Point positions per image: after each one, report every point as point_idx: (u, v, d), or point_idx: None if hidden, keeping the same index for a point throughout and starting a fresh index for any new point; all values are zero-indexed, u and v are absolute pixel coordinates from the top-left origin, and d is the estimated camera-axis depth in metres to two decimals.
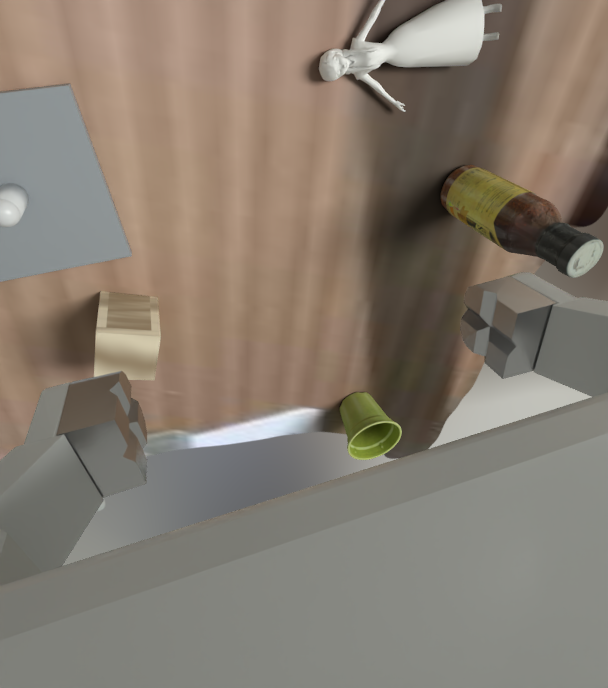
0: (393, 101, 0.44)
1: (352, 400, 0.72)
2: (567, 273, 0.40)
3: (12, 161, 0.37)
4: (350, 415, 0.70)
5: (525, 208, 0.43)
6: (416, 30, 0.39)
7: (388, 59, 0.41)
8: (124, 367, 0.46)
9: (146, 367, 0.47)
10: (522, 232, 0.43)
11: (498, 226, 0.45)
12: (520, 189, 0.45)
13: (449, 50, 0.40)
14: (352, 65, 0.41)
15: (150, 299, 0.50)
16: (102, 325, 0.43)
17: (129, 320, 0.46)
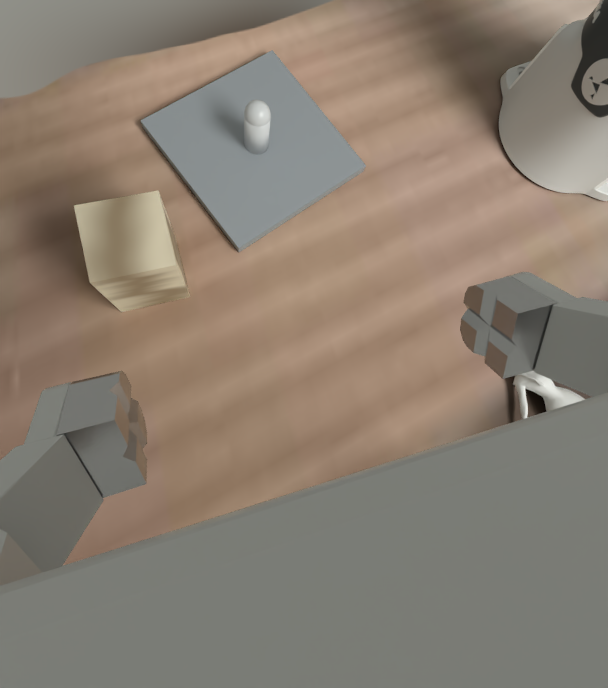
0: None
1: None
2: None
3: (286, 139, 0.43)
4: None
5: None
6: None
7: (551, 396, 0.40)
8: (105, 237, 0.31)
9: (113, 264, 0.31)
10: None
11: None
12: None
13: None
14: None
15: (187, 286, 0.39)
16: (163, 205, 0.34)
17: (173, 242, 0.35)
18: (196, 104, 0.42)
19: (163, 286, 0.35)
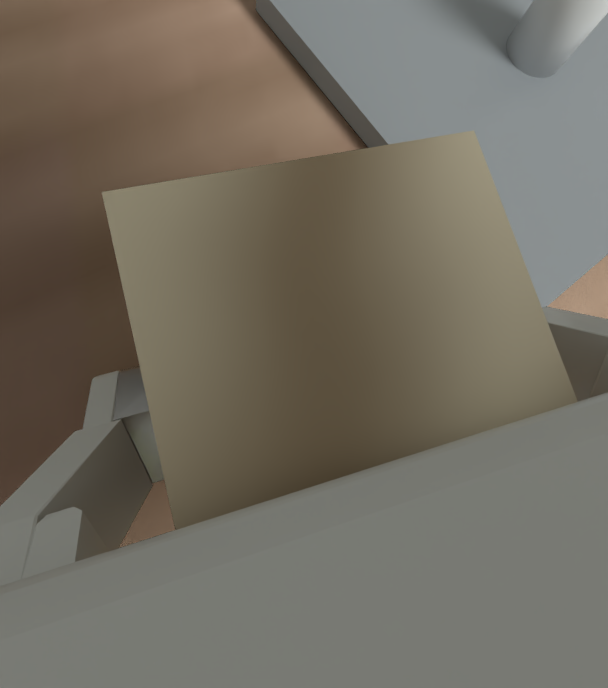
0: None
1: None
2: None
3: (598, 45, 0.18)
4: None
5: None
6: None
7: None
8: (266, 356, 0.06)
9: None
10: None
11: None
12: None
13: None
14: None
15: None
16: None
17: None
18: None
19: None
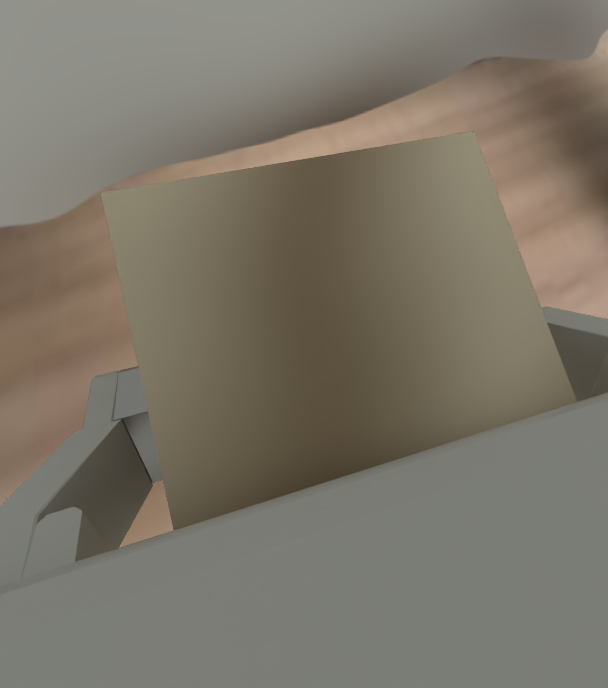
0: None
1: None
2: None
3: None
4: None
5: None
6: None
7: None
8: (265, 358, 0.06)
9: None
10: None
11: None
12: None
13: None
14: None
15: None
16: None
17: None
18: None
19: None
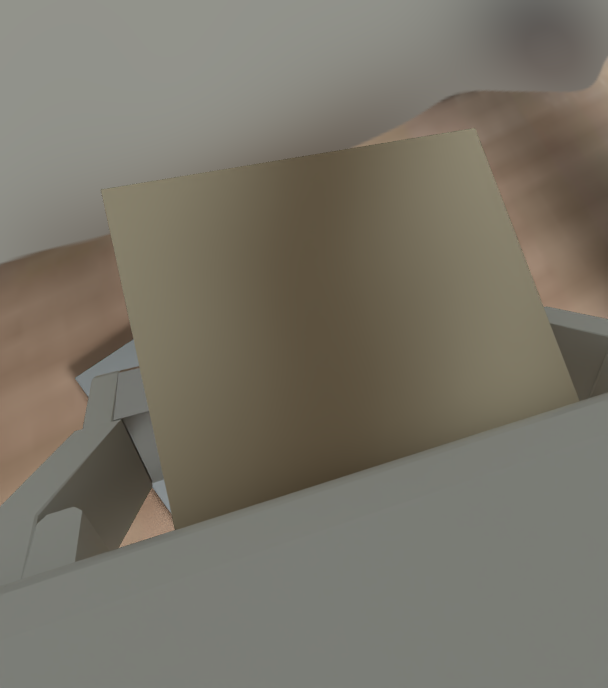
0: None
1: None
2: None
3: None
4: None
5: None
6: None
7: None
8: (266, 354, 0.06)
9: None
10: None
11: None
12: None
13: None
14: None
15: None
16: None
17: None
18: None
19: None
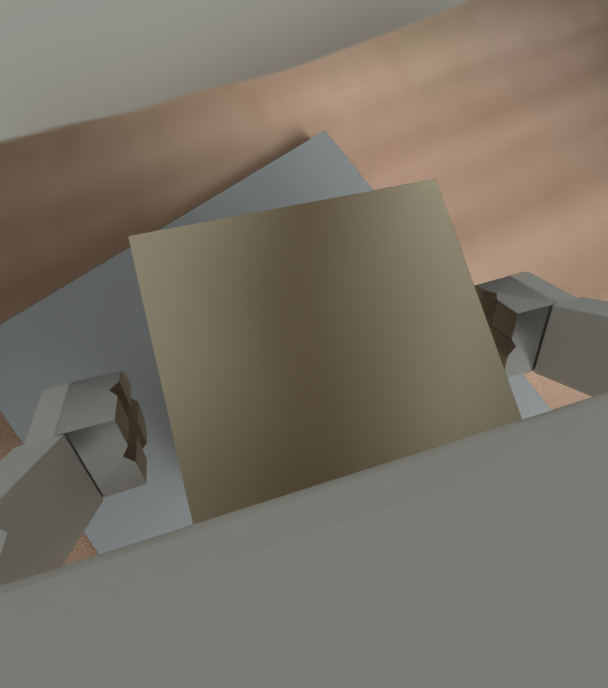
0: None
1: None
2: None
3: None
4: None
5: None
6: None
7: None
8: (261, 369, 0.07)
9: None
10: None
11: None
12: None
13: None
14: None
15: None
16: None
17: None
18: (125, 289, 0.15)
19: None
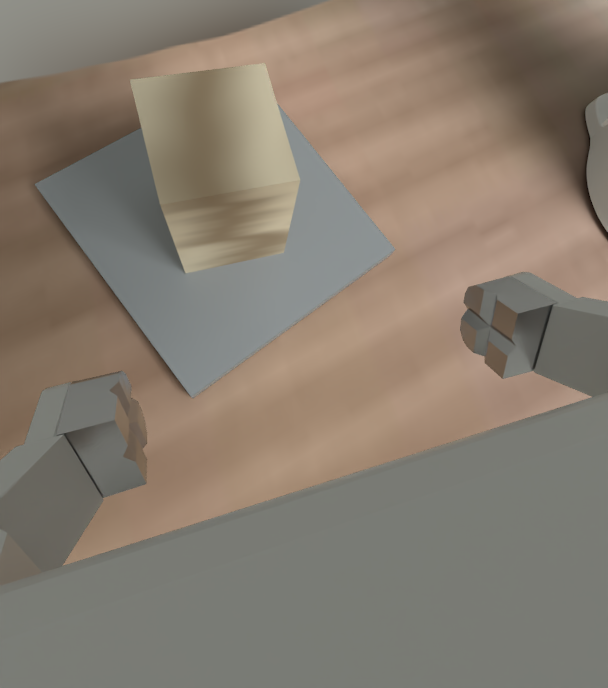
0: None
1: None
2: None
3: None
4: None
5: None
6: None
7: None
8: (183, 131, 0.19)
9: (198, 175, 0.18)
10: None
11: None
12: None
13: None
14: None
15: None
16: None
17: None
18: (128, 156, 0.27)
19: (260, 227, 0.22)
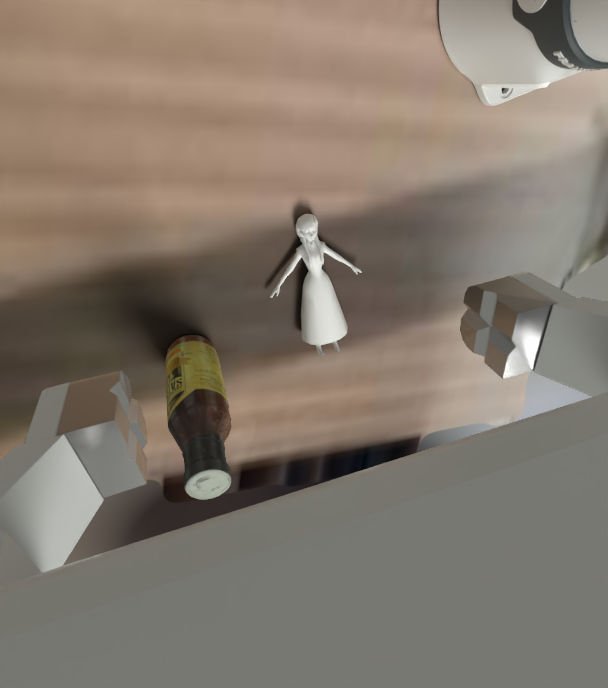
0: (279, 285, 0.49)
1: None
2: (190, 478, 0.36)
3: None
4: None
5: (222, 409, 0.42)
6: (330, 291, 0.50)
7: (312, 274, 0.49)
8: None
9: None
10: (203, 417, 0.40)
11: (194, 395, 0.42)
12: None
13: (318, 321, 0.51)
14: (308, 243, 0.47)
15: None
16: None
17: None
18: None
19: None
